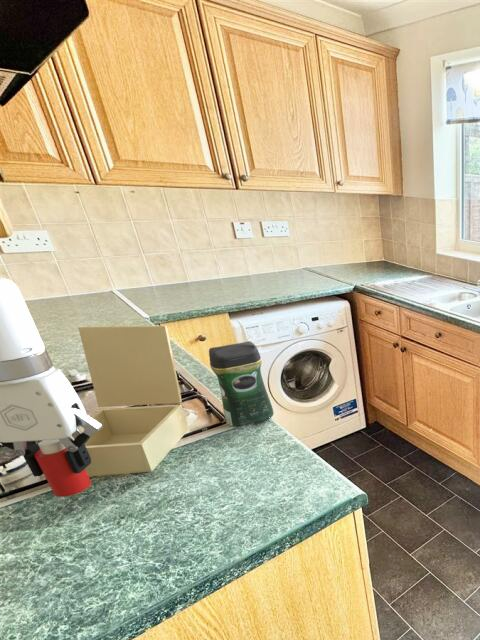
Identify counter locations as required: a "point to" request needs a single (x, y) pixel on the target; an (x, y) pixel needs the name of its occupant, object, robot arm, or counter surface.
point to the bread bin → (133, 438)
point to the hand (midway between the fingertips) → (63, 468)
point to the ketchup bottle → (60, 469)
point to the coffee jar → (241, 383)
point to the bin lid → (131, 365)
